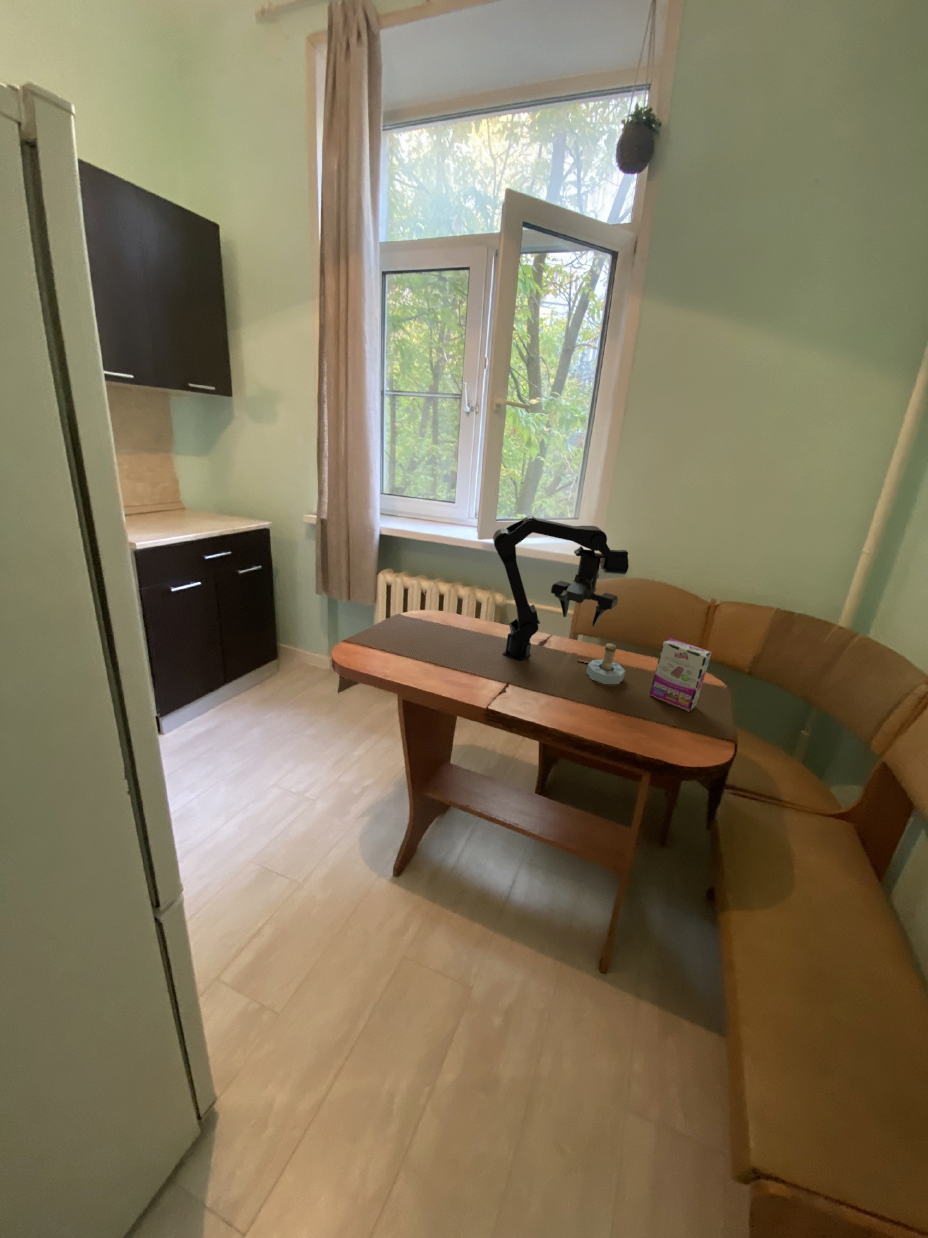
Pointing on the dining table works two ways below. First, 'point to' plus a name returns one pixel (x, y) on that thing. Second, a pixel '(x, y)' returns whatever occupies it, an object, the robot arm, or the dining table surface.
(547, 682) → the dining table surface
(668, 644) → the candy bar box
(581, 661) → the brown wooden stick
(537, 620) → the robot arm
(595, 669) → the bead
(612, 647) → the beige wooden cylinder
